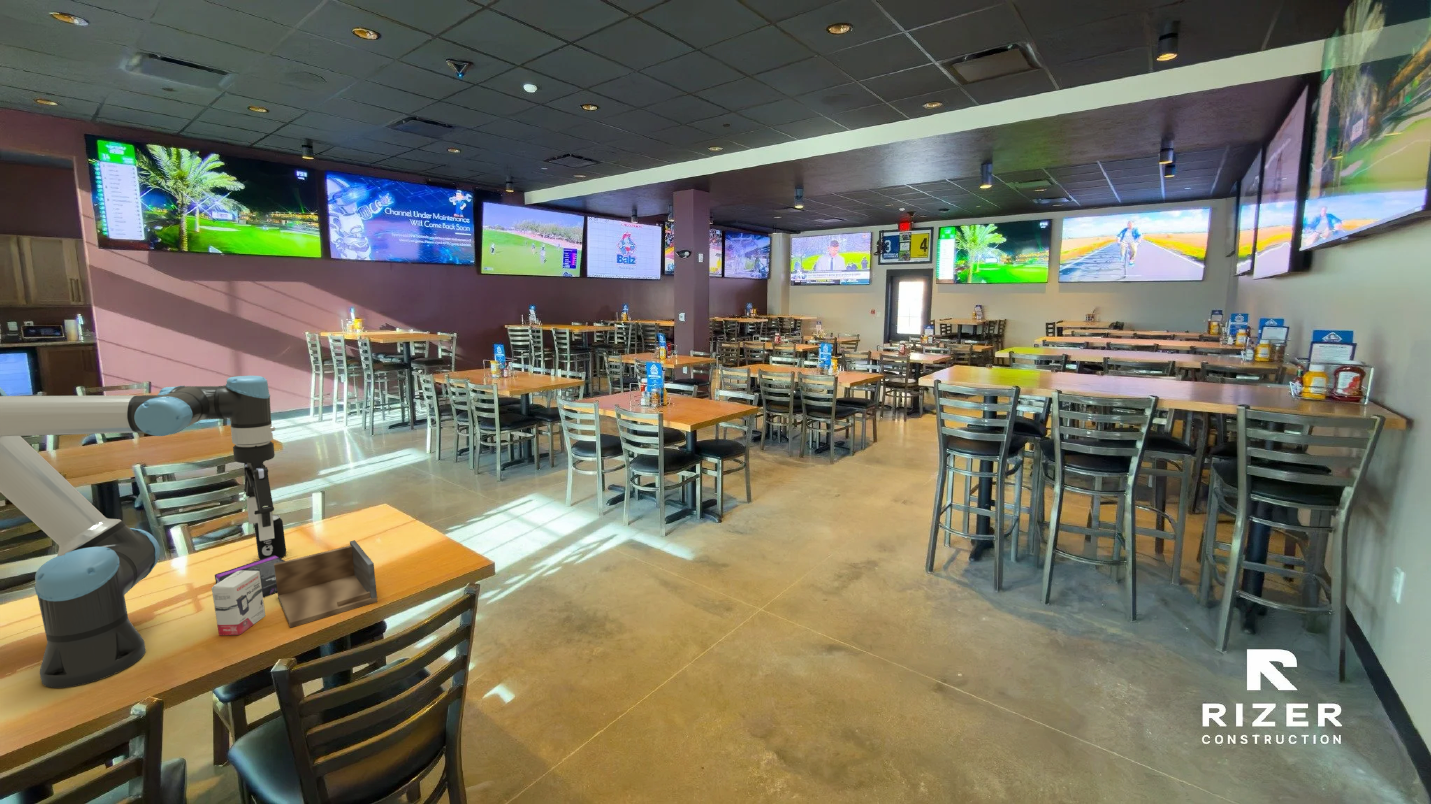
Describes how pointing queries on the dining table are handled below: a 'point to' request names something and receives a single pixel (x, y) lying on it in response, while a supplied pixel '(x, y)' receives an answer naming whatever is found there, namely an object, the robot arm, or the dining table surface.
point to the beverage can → (272, 541)
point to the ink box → (238, 602)
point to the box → (265, 573)
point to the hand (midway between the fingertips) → (261, 530)
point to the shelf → (325, 584)
